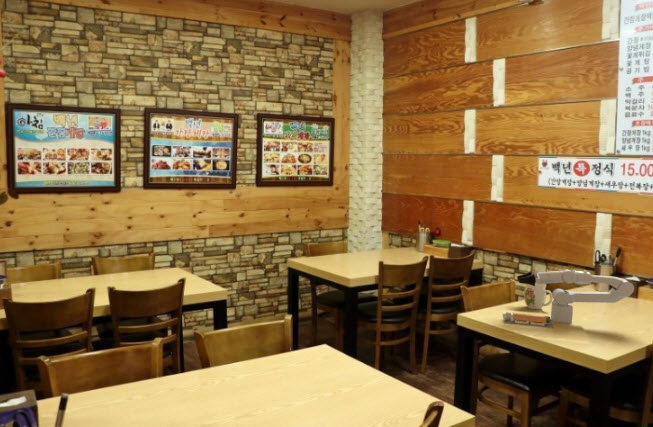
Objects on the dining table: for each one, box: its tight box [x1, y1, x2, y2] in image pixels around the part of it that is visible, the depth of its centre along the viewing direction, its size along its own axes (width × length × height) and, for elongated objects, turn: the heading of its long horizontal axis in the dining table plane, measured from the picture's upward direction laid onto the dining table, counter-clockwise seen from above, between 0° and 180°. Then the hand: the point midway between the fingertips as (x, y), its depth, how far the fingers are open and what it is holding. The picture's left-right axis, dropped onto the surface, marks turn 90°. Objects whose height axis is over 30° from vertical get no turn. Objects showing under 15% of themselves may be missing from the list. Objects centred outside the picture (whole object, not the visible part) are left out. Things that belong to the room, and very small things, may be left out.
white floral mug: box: [523, 283, 553, 310], centre depth 299 cm, size 11×18×14 cm, turn 35°
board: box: [502, 311, 555, 329], centre depth 272 cm, size 22×18×5 cm
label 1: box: [514, 320, 528, 324], centre depth 269 cm, size 6×6×1 cm
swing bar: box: [512, 312, 551, 323], centre depth 268 cm, size 16×3×3 cm, turn 76°
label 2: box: [530, 321, 544, 326], centre depth 268 cm, size 6×6×1 cm
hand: (518, 279), depth 277 cm, fingers open, 7 cm apart
